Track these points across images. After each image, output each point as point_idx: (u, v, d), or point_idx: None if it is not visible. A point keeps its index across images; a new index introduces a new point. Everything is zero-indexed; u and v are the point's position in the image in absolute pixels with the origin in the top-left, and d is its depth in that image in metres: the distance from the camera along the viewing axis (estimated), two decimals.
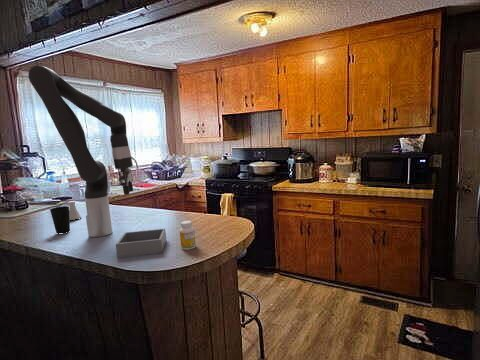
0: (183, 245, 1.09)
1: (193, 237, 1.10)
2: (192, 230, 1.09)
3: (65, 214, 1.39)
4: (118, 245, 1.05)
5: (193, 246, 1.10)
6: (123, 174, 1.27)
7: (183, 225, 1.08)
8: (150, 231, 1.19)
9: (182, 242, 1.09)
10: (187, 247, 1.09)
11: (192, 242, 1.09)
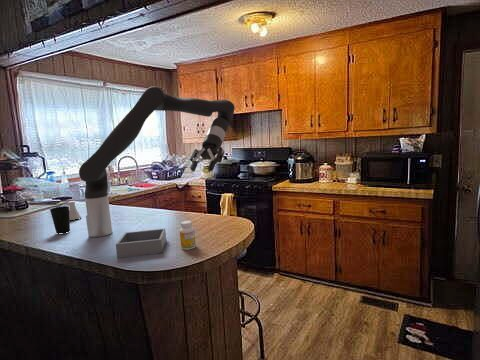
0: (183, 245, 1.09)
1: (193, 237, 1.10)
2: (192, 230, 1.09)
3: (65, 214, 1.39)
4: (118, 245, 1.05)
5: (193, 246, 1.10)
6: (223, 152, 1.20)
7: (183, 225, 1.08)
8: (150, 231, 1.19)
9: (182, 242, 1.09)
10: (187, 247, 1.09)
11: (192, 242, 1.09)
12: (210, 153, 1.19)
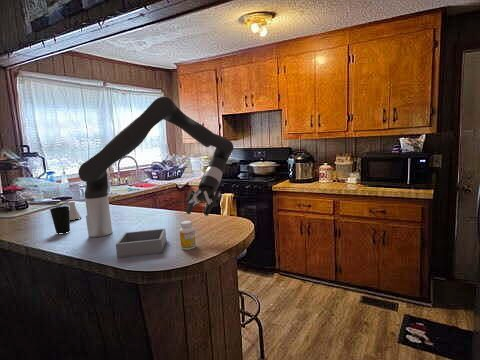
0: (183, 245, 1.09)
1: (193, 237, 1.10)
2: (192, 230, 1.09)
3: (65, 214, 1.39)
4: (118, 245, 1.05)
5: (193, 246, 1.10)
6: (220, 196, 1.17)
7: (183, 225, 1.08)
8: (150, 231, 1.19)
9: (182, 242, 1.09)
10: (187, 247, 1.09)
11: (192, 242, 1.09)
12: (206, 196, 1.17)
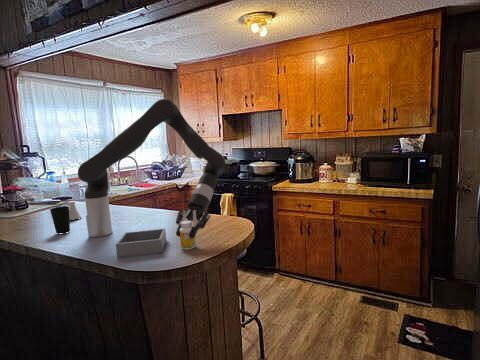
0: (183, 245, 1.09)
1: None
2: None
3: (65, 214, 1.39)
4: (118, 245, 1.05)
5: (193, 246, 1.10)
6: (208, 217, 1.11)
7: (183, 225, 1.08)
8: (150, 231, 1.19)
9: (182, 242, 1.09)
10: (187, 247, 1.09)
11: (192, 242, 1.09)
12: (194, 217, 1.11)
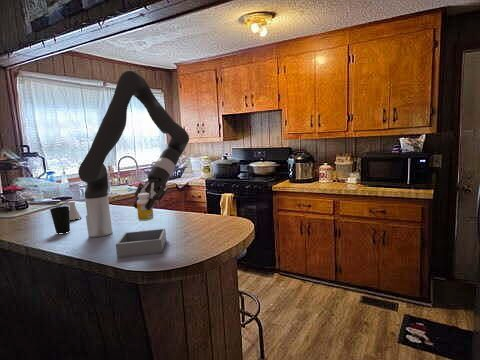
0: (140, 216, 1.09)
1: (150, 209, 1.10)
2: None
3: (65, 214, 1.39)
4: (118, 245, 1.05)
5: (150, 218, 1.10)
6: (166, 190, 1.11)
7: (140, 196, 1.08)
8: (150, 231, 1.19)
9: (139, 213, 1.09)
10: (143, 218, 1.09)
11: (149, 214, 1.09)
12: (152, 189, 1.11)
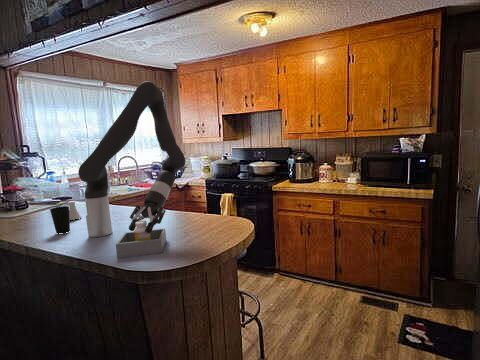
0: None
1: (147, 237, 1.12)
2: None
3: (65, 214, 1.39)
4: (118, 245, 1.05)
5: None
6: (164, 212, 1.13)
7: (137, 225, 1.10)
8: None
9: None
10: None
11: None
12: (149, 213, 1.12)
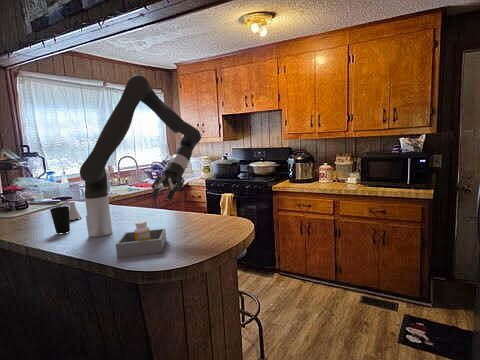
0: None
1: (147, 237, 1.12)
2: (146, 230, 1.11)
3: (65, 214, 1.39)
4: (118, 245, 1.05)
5: None
6: (183, 181, 1.22)
7: (137, 225, 1.10)
8: (150, 231, 1.19)
9: None
10: None
11: None
12: (170, 182, 1.22)
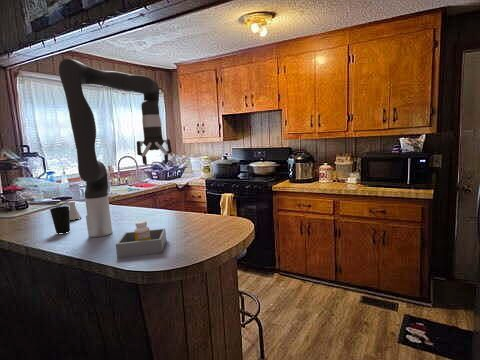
0: None
1: (147, 237, 1.12)
2: (146, 230, 1.11)
3: (65, 214, 1.39)
4: (118, 245, 1.05)
5: None
6: (170, 142, 1.30)
7: (137, 225, 1.10)
8: (150, 231, 1.19)
9: None
10: None
11: None
12: (160, 147, 1.27)
